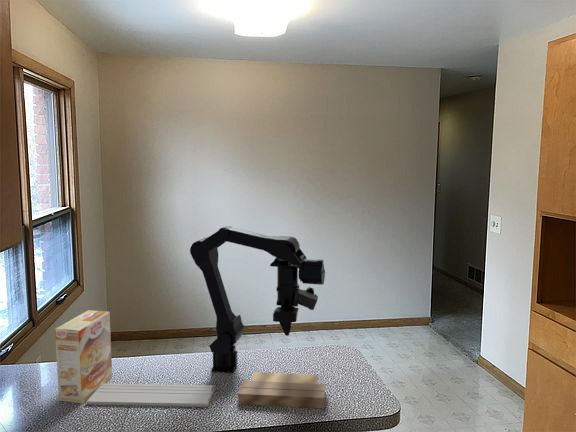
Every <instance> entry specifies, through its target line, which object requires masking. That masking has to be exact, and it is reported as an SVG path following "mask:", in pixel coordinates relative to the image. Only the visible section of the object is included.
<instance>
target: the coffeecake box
mask: <svg viewBox="0 0 576 432" xmlns="http://www.w3.org/2000/svg"><path fill="white" fill-rule="evenodd" d="M110 312H111V311H108V310H106V311H105V310H92V309H90V310H89V309H88V310H86V311H84V312H83V313H81V314H79V315H77V316H75V317H74V318H72V319H70V320H69V321H67V322H65V323H63V324H61V325H60V326H58V327H56V328H54V333H55V334H54V335H55V352H56V371H57V388H58V390H57V391H58V401H59V402H68V403H75V404H84V403H85V402H86V401H87V400H88V399H89V398H90V397H91V396H92V394H94V392H95V391H96V390H97V389H98V388H99V387H100V385H101V384H104V383H108V381H109V380H111V378H113V365H112V362H113V361H112V341H111V336H112V335H111V317H110V316H111V314H110Z"/></svg>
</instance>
